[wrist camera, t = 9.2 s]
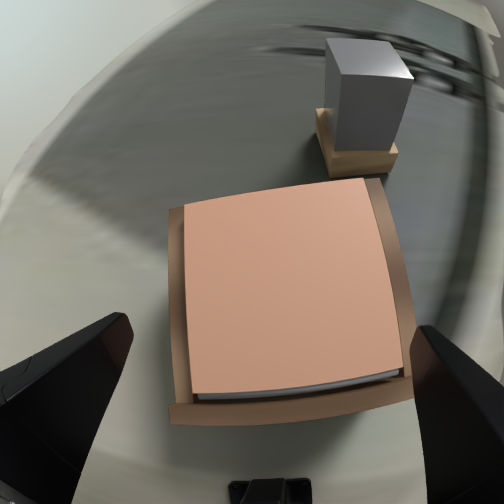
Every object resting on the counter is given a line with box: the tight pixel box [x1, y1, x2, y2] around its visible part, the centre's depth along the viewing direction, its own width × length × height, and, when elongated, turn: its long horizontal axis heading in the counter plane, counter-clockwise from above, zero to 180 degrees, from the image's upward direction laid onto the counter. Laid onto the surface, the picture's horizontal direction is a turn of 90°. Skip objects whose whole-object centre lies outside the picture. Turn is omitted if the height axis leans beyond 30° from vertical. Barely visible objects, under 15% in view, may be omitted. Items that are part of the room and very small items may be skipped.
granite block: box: [324, 38, 414, 151], centre depth 18 cm, size 5×5×8 cm
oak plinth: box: [315, 108, 398, 178], centre depth 24 cm, size 6×6×3 cm
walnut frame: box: [168, 178, 417, 426], centre depth 17 cm, size 12×13×8 cm
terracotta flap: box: [184, 178, 403, 399], centre depth 14 cm, size 10×10×1 cm
